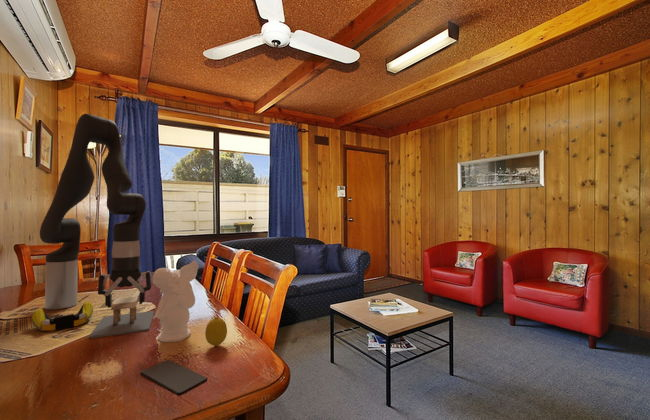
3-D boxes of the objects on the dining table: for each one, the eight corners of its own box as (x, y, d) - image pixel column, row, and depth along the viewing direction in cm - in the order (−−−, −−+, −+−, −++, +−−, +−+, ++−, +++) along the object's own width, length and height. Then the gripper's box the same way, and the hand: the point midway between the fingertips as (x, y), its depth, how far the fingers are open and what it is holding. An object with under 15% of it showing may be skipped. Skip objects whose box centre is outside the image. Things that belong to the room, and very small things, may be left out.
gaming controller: (32, 326, 96) (30, 336, 88) (32, 309, 96) (30, 317, 88) (92, 316, 106) (95, 324, 98) (92, 300, 106) (95, 307, 99)
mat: (103, 318, 103) (103, 316, 103) (154, 312, 110) (154, 310, 110) (88, 338, 87) (88, 336, 87) (149, 330, 93) (149, 328, 93)
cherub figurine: (150, 345, 83) (150, 264, 83) (157, 329, 95) (156, 258, 95) (199, 338, 88) (198, 261, 88) (199, 323, 99) (199, 255, 99)
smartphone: (179, 393, 61) (139, 371, 68) (179, 398, 61) (139, 375, 68) (208, 377, 66) (168, 358, 74) (208, 381, 66) (168, 362, 74)
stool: (110, 327, 94) (111, 304, 94) (115, 320, 100) (115, 298, 100) (135, 324, 97) (135, 301, 97) (138, 317, 103) (138, 296, 103)
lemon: (214, 353, 79) (214, 322, 79) (200, 348, 82) (201, 318, 82) (231, 345, 83) (231, 316, 83) (217, 340, 86) (218, 312, 86)
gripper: (152, 252, 105) (151, 299, 105) (102, 254, 99) (101, 304, 99) (150, 255, 98) (149, 306, 98) (96, 257, 92) (95, 311, 92)
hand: (125, 305), depth 98 cm, fingers open, 8 cm apart
